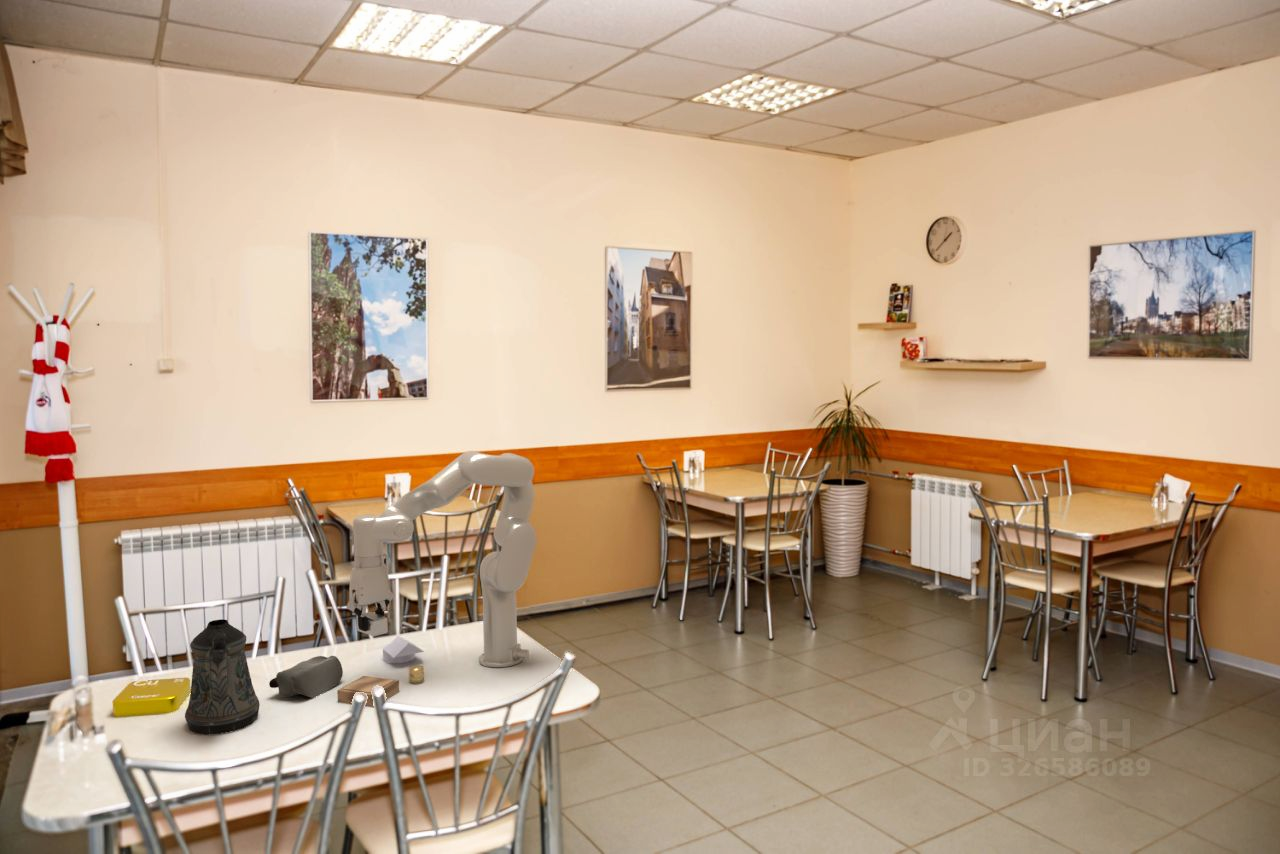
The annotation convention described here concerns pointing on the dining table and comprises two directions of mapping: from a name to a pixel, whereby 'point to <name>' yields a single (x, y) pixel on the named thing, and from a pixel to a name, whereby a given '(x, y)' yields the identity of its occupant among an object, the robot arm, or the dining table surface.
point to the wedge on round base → (400, 651)
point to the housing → (375, 624)
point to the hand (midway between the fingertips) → (371, 627)
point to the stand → (367, 688)
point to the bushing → (416, 674)
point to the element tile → (151, 697)
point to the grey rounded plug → (309, 677)
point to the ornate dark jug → (220, 682)
